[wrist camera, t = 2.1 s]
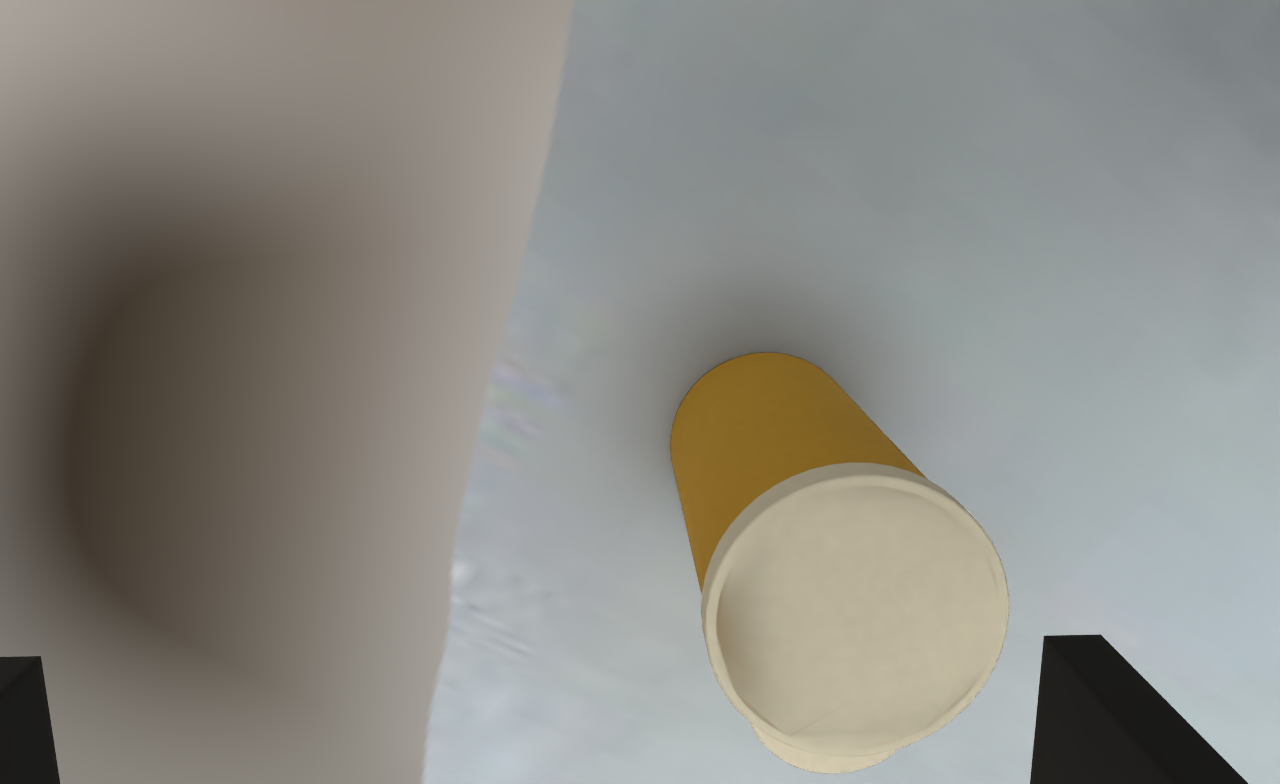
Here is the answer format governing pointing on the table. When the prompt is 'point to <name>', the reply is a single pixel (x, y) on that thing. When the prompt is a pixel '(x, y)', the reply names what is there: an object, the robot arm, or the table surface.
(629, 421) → the table surface
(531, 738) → the table surface
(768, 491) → the rain boot
